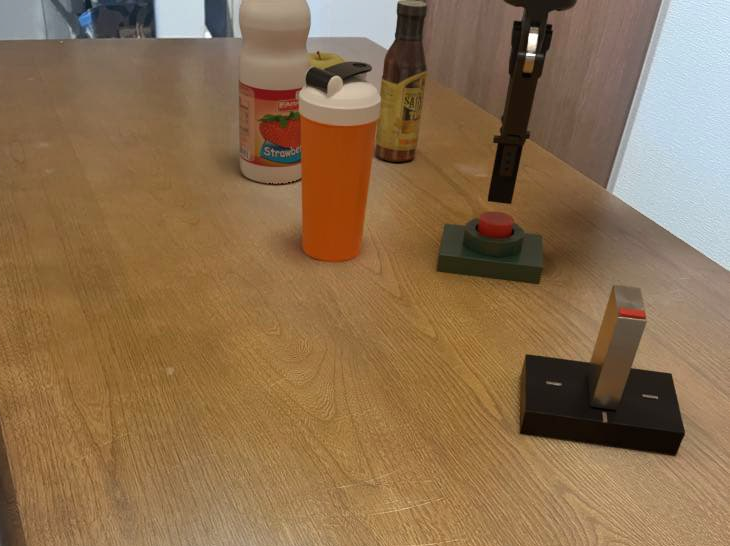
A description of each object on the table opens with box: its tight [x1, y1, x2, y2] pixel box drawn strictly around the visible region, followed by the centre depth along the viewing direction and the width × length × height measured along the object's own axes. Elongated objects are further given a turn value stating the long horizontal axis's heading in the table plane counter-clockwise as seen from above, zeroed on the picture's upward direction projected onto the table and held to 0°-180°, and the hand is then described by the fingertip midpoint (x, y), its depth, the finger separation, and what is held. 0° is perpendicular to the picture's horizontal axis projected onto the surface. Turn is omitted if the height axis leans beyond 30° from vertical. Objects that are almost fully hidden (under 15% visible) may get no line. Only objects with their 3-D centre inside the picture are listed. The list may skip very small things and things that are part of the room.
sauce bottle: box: [374, 0, 428, 162], centre depth 123 cm, size 7×6×20 cm
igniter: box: [436, 217, 544, 285], centre depth 104 cm, size 12×9×4 cm
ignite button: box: [477, 211, 515, 238], centre depth 102 cm, size 4×4×2 cm
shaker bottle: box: [298, 61, 381, 263], centre depth 99 cm, size 9×9×20 cm
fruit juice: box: [237, 0, 312, 185], centre depth 113 cm, size 9×9×28 cm
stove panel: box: [519, 353, 686, 456], centre depth 81 cm, size 14×10×3 cm
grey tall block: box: [587, 284, 648, 410], centre depth 77 cm, size 6×2×9 cm, turn 170°
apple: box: [308, 50, 346, 70], centre depth 143 cm, size 10×10×8 cm
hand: (499, 200), depth 100 cm, fingers closed
